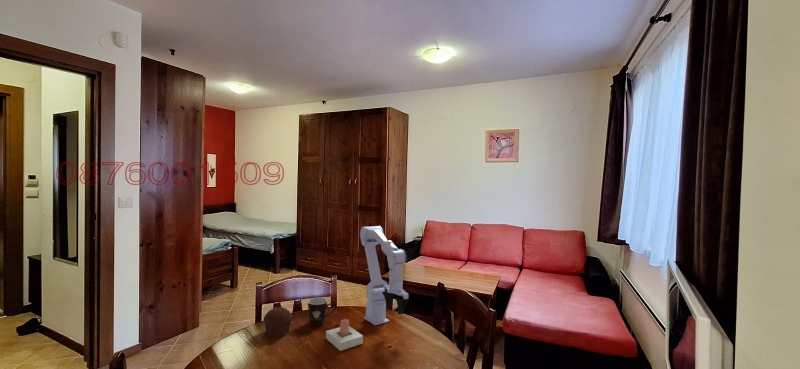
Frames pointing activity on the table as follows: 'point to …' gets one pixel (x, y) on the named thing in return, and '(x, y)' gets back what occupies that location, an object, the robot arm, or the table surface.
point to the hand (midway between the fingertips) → (394, 310)
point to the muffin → (277, 322)
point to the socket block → (344, 338)
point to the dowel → (344, 328)
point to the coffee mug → (318, 311)
